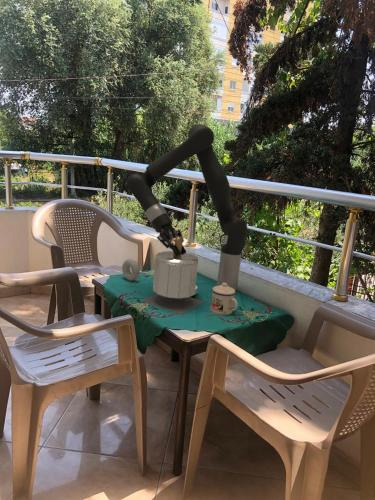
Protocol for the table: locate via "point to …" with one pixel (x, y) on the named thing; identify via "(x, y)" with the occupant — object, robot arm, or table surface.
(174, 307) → the mat
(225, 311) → the teacup with lid
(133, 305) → the table surface
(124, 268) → the donut
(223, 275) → the robot arm
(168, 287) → the cylinder
